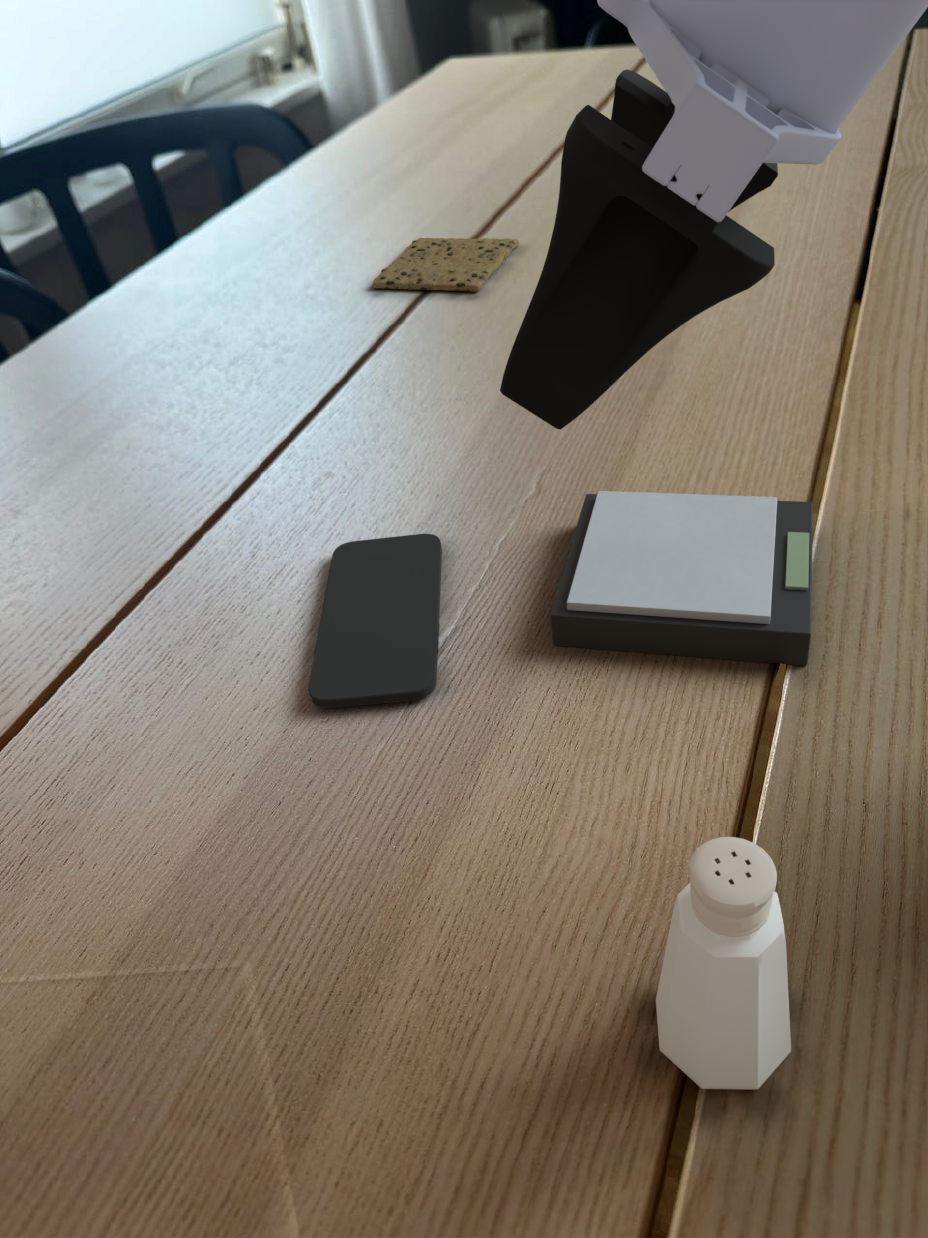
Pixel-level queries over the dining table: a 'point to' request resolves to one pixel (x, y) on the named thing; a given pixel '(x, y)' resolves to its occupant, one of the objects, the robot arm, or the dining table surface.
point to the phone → (379, 623)
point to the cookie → (446, 264)
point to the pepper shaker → (726, 970)
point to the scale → (689, 577)
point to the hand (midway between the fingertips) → (555, 358)
